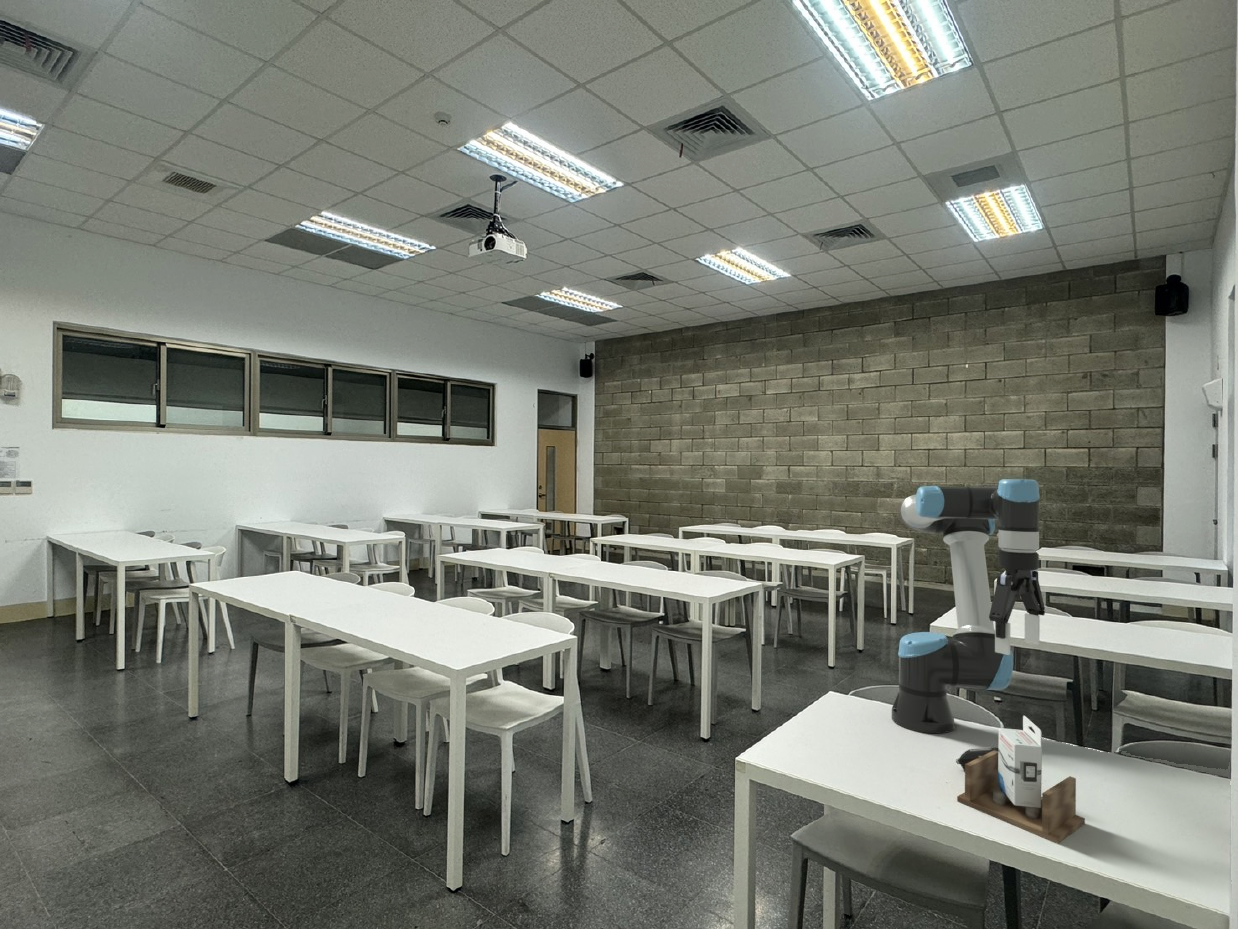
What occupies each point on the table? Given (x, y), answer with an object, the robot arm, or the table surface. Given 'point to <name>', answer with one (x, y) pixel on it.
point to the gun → (973, 755)
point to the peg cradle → (1046, 821)
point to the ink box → (1021, 764)
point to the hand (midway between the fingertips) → (1017, 648)
